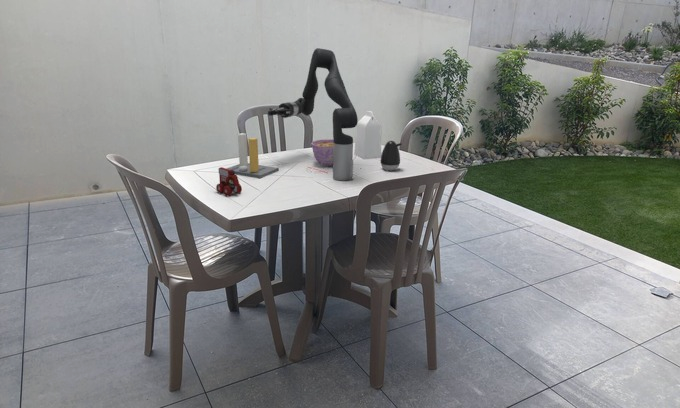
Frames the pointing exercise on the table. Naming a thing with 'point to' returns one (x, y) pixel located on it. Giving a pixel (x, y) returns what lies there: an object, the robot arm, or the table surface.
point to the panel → (259, 174)
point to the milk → (368, 137)
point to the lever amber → (253, 154)
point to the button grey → (243, 168)
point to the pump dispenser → (390, 156)
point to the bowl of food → (323, 151)
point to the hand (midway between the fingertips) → (269, 113)
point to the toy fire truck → (228, 182)
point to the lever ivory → (242, 149)
